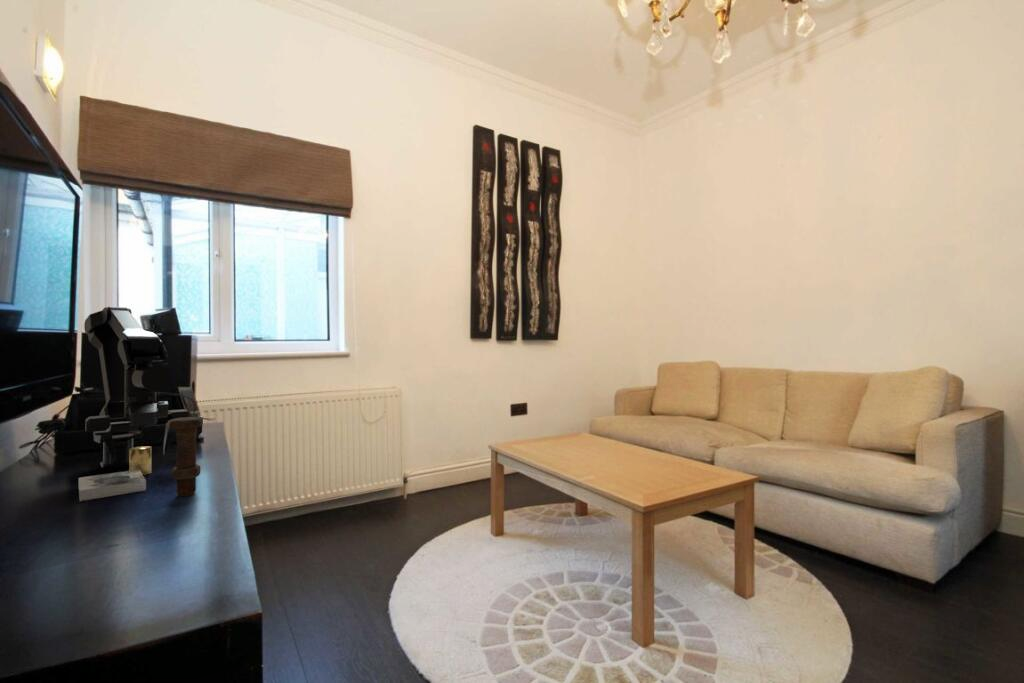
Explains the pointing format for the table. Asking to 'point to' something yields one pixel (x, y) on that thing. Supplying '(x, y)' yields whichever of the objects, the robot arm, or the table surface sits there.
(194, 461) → the bolt
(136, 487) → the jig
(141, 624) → the table surface
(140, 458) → the bushing
